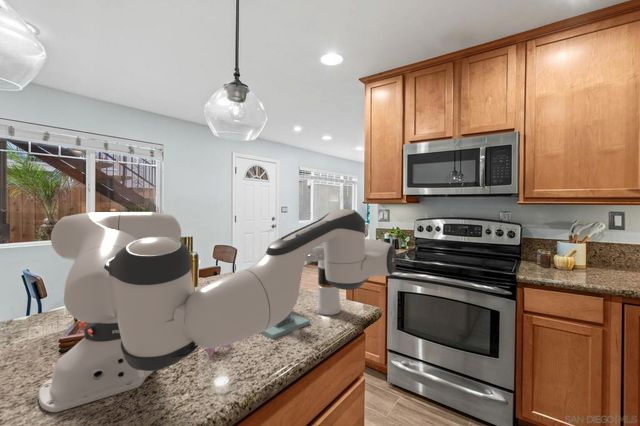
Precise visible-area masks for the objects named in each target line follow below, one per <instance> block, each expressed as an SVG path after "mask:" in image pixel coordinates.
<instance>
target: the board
mask: <svg viewBox="0 0 640 426" xmlns="http://www.w3.org/2000/svg"><path fill="white" fill-rule="evenodd" d="M291 318H294V319H295V321H294V322H291V323H289V324H286V325H284V326H281V327H278V328H276V327H274V326H273V327H271V328H269V329H267V330H265V331H262V332H260V333H259V334H262V335H264V336H266V337H268V338H270V339H272V340H273V339H277V338H279V337H281V336H284V335H286V334H288V333H291V332H294V331H296V330H299V329H300V328H302V327H305V326H308V325H310V324H311V320H310V319H309V318H305V317H302V316H300V315H297V314H295V313H292V312H291Z"/></svg>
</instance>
